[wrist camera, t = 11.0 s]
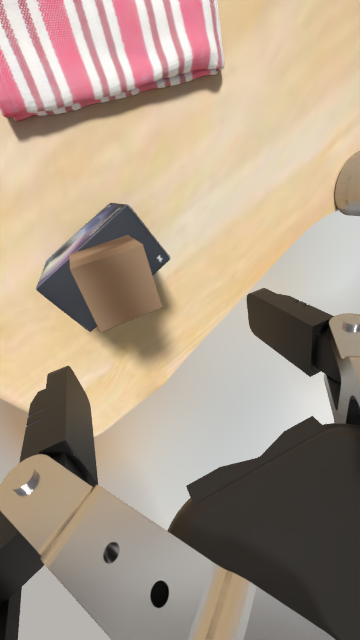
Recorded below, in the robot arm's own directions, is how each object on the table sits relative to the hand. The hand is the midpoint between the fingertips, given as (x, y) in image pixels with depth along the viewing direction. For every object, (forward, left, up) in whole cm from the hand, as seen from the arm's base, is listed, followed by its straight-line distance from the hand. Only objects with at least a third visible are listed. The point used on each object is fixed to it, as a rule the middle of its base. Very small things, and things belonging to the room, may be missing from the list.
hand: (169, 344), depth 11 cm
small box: (+1, 0, -24) cm, 24 cm away
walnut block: (+1, 0, -14) cm, 14 cm away
